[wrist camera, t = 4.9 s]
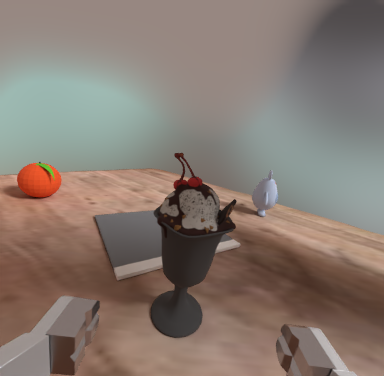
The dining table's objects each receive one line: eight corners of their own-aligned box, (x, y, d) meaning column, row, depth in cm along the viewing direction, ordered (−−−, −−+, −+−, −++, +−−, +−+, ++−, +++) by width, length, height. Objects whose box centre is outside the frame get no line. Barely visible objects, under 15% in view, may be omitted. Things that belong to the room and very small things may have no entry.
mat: (187, 209, 45) (187, 207, 45) (239, 246, 32) (240, 244, 32) (94, 217, 34) (94, 214, 34) (117, 280, 21) (117, 276, 21)
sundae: (130, 298, 19) (146, 146, 15) (187, 279, 23) (210, 154, 19) (158, 367, 14) (192, 160, 10) (225, 326, 17) (266, 167, 14)
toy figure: (274, 224, 45) (288, 175, 42) (248, 217, 47) (260, 170, 44) (270, 211, 55) (281, 170, 52) (248, 205, 56) (258, 166, 54)
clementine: (72, 198, 40) (72, 165, 39) (35, 206, 34) (33, 168, 32) (48, 189, 43) (47, 158, 41) (10, 195, 37) (7, 159, 35)
